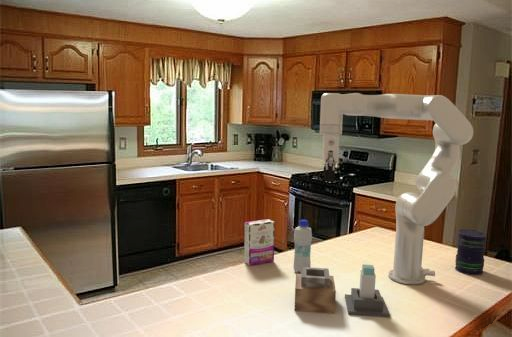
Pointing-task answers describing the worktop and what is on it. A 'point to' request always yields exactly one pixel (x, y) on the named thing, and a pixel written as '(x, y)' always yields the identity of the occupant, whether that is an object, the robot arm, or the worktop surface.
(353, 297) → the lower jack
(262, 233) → the candy bar box
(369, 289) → the plug
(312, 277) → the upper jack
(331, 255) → the worktop surface
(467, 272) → the storage jar
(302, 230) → the bottle
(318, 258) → the worktop surface
